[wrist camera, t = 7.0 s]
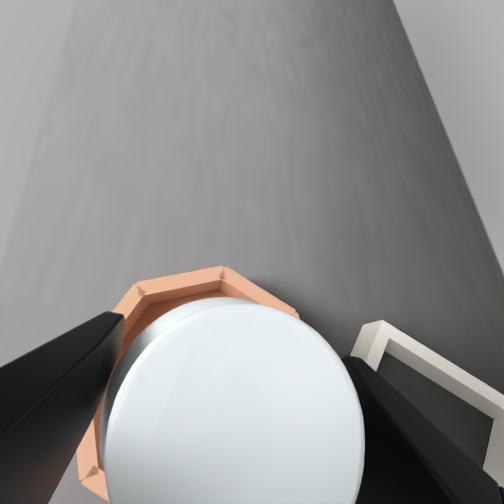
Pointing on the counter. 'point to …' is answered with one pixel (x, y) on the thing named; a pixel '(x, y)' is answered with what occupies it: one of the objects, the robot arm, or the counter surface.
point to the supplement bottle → (231, 412)
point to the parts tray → (438, 381)
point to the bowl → (146, 312)
